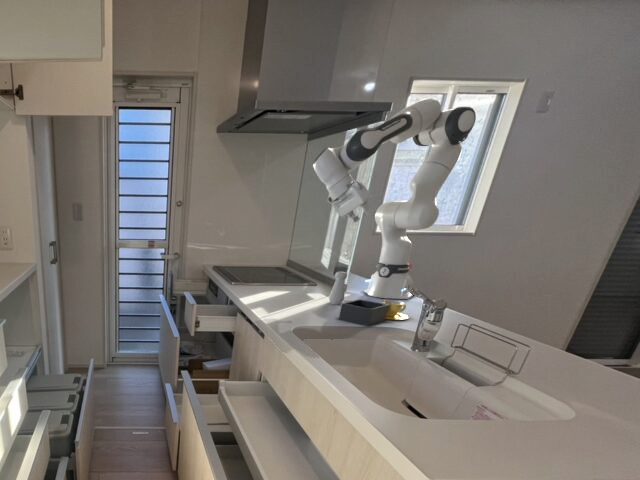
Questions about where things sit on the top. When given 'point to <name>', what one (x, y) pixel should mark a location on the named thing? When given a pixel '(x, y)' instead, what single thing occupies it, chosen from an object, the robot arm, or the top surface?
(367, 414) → the top surface
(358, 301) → the dark grey open box
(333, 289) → the salt shaker
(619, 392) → the top surface
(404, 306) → the cup
